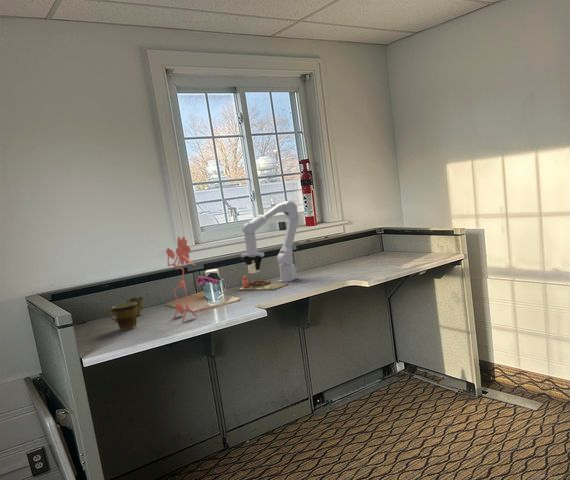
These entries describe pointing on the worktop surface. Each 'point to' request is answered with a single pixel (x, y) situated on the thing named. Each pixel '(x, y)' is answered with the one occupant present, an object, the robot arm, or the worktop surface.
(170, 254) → the figurine
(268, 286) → the board
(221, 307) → the worktop surface
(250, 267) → the die
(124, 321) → the ceramic cup
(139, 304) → the cup
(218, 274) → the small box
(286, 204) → the robot arm
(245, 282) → the pawn
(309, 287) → the worktop surface
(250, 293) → the worktop surface
